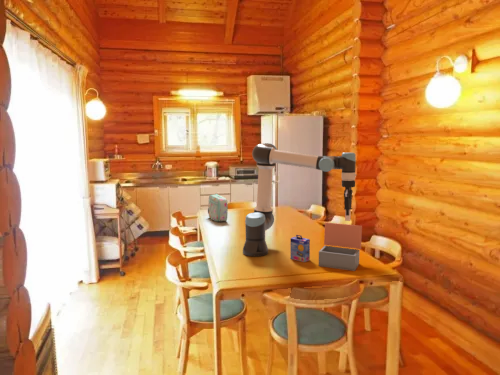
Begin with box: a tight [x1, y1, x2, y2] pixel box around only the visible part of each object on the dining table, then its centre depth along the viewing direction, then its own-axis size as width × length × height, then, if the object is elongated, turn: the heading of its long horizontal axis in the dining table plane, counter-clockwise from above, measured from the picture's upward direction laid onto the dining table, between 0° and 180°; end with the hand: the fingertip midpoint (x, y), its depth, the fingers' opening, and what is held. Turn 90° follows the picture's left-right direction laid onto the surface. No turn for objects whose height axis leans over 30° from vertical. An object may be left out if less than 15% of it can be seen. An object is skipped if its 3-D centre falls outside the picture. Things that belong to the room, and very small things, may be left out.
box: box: [318, 245, 360, 272], centre depth 204 cm, size 19×12×8 cm, turn 64°
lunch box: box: [207, 193, 229, 223], centre depth 318 cm, size 27×10×21 cm, turn 25°
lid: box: [323, 222, 363, 250], centre depth 209 cm, size 20×12×1 cm
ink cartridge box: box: [289, 234, 311, 263], centre depth 213 cm, size 10×6×14 cm, turn 51°
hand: (347, 220), depth 218 cm, fingers closed
